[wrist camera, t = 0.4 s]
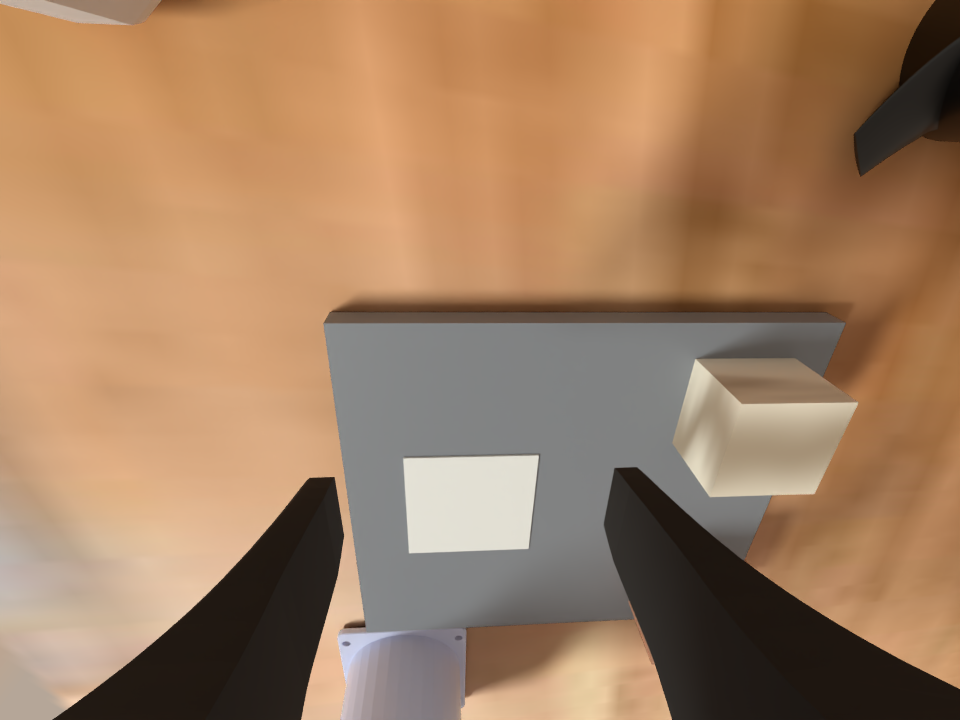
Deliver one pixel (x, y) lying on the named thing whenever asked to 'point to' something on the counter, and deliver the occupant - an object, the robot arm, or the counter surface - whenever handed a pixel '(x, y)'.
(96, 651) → the counter surface
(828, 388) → the top block
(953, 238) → the counter surface
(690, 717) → the robot arm
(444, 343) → the board
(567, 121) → the counter surface
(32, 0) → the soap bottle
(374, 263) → the counter surface
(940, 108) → the duct tape
